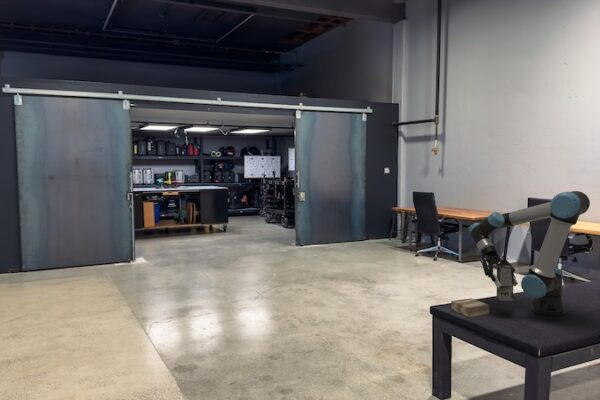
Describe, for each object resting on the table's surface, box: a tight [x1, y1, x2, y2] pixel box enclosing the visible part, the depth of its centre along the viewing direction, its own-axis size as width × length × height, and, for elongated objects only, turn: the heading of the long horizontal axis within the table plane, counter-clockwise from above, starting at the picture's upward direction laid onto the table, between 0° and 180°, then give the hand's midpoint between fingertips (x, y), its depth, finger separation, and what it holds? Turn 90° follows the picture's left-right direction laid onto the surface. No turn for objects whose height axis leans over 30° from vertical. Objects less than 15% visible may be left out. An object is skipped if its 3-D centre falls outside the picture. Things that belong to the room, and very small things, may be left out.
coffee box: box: [496, 265, 515, 302], centre depth 240 cm, size 9×6×16 cm
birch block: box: [450, 297, 490, 318], centre depth 247 cm, size 13×13×5 cm
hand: (507, 285), depth 238 cm, fingers closed on coffee box, 9 cm apart
